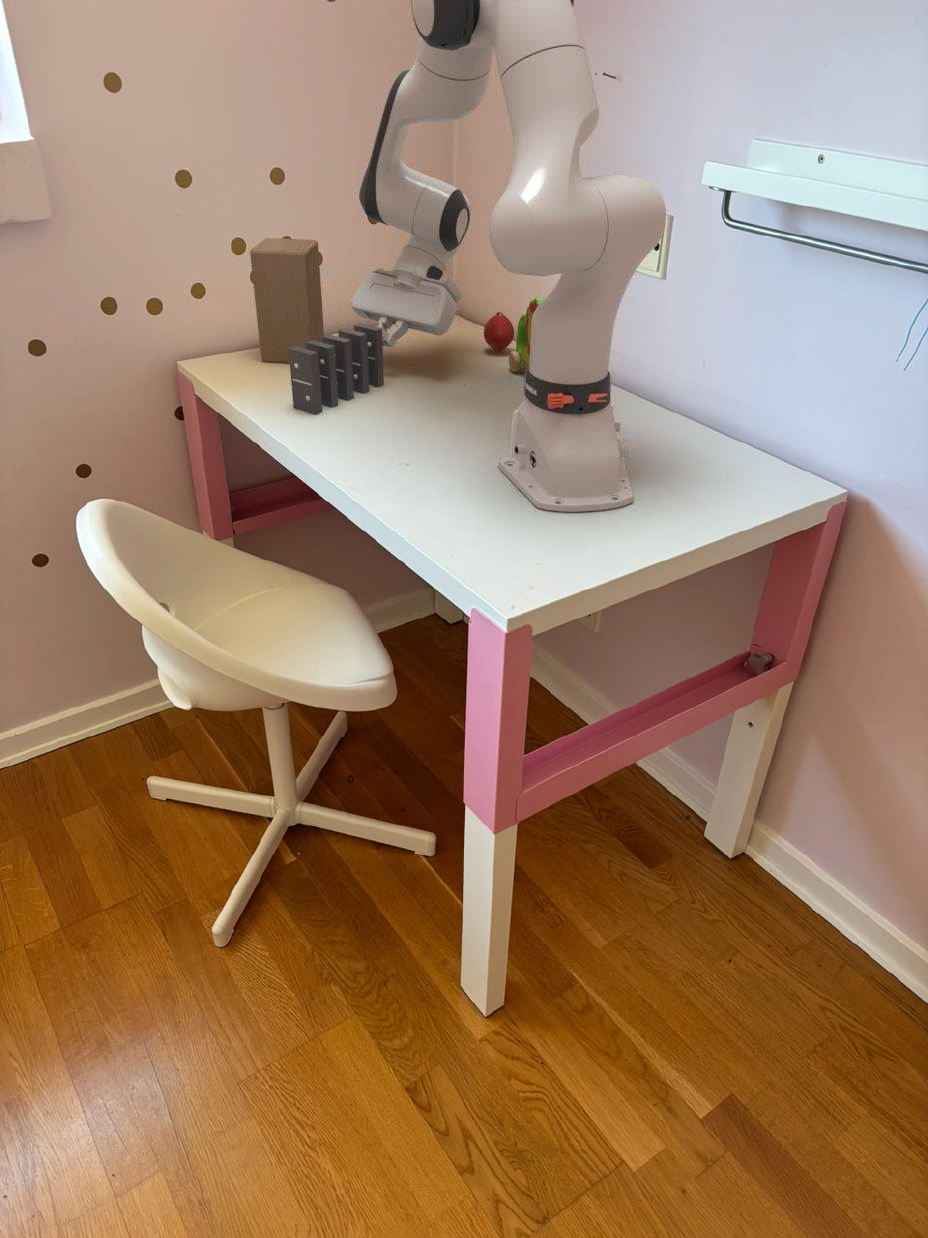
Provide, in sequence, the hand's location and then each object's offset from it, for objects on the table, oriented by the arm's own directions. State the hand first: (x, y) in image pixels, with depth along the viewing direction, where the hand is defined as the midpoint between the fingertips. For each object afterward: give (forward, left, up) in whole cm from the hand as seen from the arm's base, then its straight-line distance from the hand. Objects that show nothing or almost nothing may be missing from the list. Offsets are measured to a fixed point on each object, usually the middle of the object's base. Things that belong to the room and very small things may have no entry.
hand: (383, 344), depth 168 cm
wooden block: (+14, +16, -6) cm, 22 cm away
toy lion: (-6, -26, -6) cm, 27 cm away
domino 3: (-9, +9, -6) cm, 13 cm away
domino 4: (-6, +6, -6) cm, 10 cm away
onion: (+11, -23, -6) cm, 26 cm away
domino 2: (-11, +11, -6) cm, 17 cm away
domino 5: (-3, +3, -6) cm, 7 cm away
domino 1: (-14, +14, -6) cm, 21 cm away
